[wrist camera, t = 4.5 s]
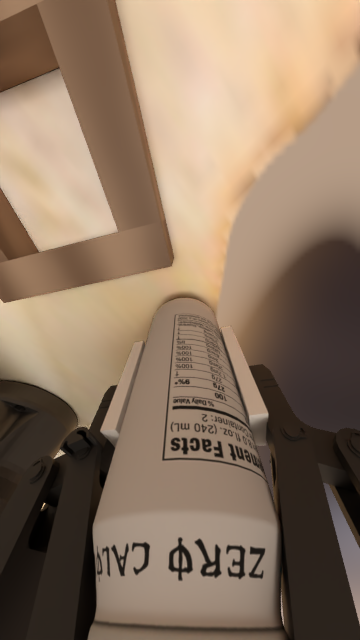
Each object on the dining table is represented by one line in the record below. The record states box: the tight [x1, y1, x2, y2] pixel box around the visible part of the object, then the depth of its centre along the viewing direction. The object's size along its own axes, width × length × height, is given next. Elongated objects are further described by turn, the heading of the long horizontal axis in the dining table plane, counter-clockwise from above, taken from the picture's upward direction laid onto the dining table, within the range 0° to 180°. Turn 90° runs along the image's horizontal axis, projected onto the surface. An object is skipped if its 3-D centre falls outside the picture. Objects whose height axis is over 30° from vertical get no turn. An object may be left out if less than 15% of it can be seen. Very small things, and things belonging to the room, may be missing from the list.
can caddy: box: [0, 0, 174, 303], centre depth 11 cm, size 14×14×3 cm
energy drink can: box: [88, 298, 289, 640], centre depth 11 cm, size 6×6×15 cm
